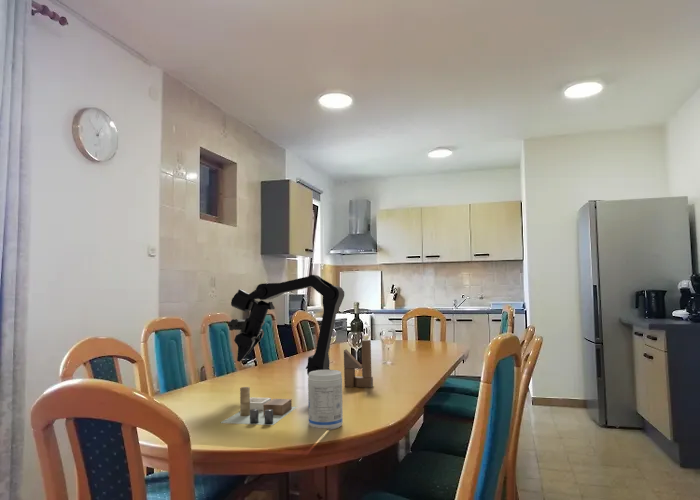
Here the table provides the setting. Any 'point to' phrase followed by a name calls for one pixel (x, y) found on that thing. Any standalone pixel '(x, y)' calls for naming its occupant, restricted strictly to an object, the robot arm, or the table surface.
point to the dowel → (244, 401)
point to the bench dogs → (255, 416)
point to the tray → (258, 403)
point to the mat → (246, 419)
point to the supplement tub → (325, 399)
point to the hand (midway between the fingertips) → (242, 358)
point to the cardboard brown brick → (279, 406)
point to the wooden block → (358, 367)
